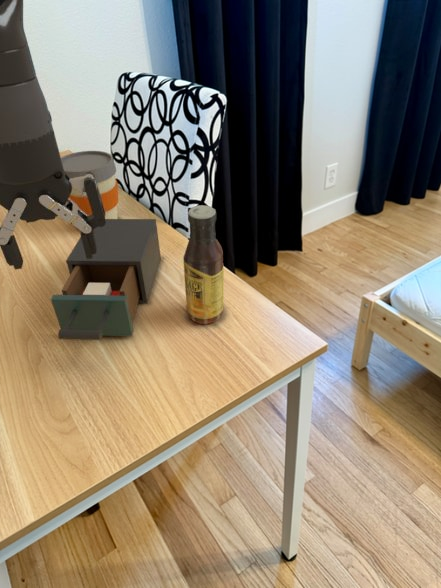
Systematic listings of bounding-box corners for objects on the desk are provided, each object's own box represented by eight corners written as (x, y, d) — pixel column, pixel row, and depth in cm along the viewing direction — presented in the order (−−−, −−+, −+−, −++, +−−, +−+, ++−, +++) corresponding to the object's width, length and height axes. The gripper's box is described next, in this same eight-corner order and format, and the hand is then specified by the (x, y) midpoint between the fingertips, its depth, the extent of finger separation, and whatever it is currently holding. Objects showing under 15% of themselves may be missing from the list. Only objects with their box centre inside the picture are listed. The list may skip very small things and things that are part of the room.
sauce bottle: (181, 310, 75) (170, 206, 62) (213, 298, 77) (208, 196, 65) (198, 332, 70) (190, 225, 58) (231, 319, 72) (230, 213, 60)
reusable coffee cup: (100, 242, 94) (85, 176, 84) (59, 229, 99) (40, 165, 89) (136, 217, 102) (126, 155, 93) (96, 206, 107) (83, 147, 98)
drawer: (123, 362, 64) (115, 326, 60) (49, 360, 65) (35, 325, 60) (148, 285, 79) (142, 251, 75) (87, 284, 80) (78, 251, 75)
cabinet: (147, 303, 76) (140, 261, 71) (78, 302, 77) (65, 260, 71) (161, 258, 88) (155, 218, 82) (100, 258, 89) (91, 218, 83)
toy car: (79, 319, 70) (72, 296, 67) (87, 302, 74) (81, 280, 71) (121, 320, 70) (116, 297, 67) (127, 303, 73) (122, 280, 70)
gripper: (-73, 147, 40) (-11, 287, 50) (84, 132, 42) (114, 268, 52) (-53, 124, 45) (0, 253, 55) (85, 112, 48) (112, 238, 58)
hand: (55, 260), depth 54 cm, fingers open, 8 cm apart
